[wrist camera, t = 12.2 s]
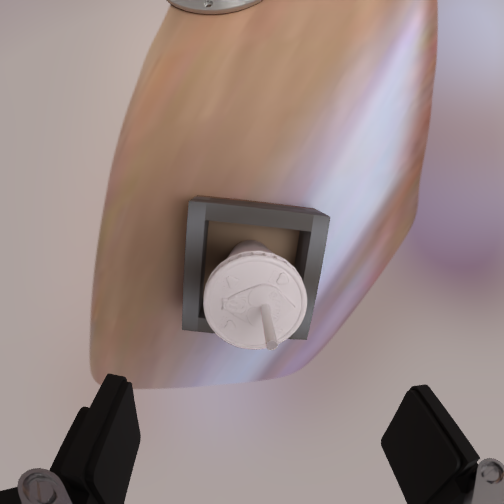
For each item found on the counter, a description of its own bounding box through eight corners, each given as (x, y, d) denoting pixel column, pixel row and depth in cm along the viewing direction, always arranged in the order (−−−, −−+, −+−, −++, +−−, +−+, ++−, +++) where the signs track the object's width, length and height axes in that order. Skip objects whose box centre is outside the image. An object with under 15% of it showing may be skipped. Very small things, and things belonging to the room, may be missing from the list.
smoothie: (282, 295, 28) (314, 394, 15) (213, 291, 28) (193, 391, 15) (289, 227, 27) (337, 284, 13) (215, 222, 26) (191, 277, 13)
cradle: (197, 195, 27) (188, 201, 22) (314, 208, 28) (330, 216, 23) (190, 304, 29) (182, 329, 25) (296, 314, 30) (306, 339, 25)
